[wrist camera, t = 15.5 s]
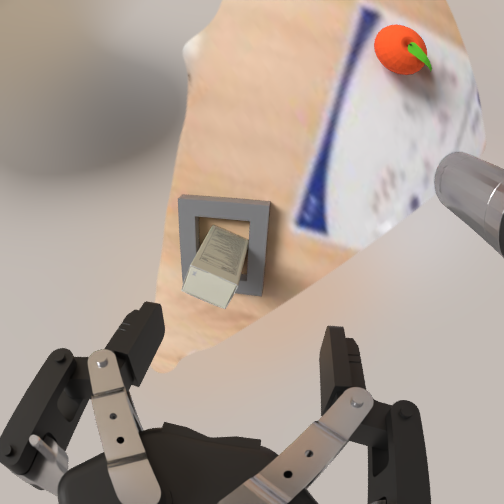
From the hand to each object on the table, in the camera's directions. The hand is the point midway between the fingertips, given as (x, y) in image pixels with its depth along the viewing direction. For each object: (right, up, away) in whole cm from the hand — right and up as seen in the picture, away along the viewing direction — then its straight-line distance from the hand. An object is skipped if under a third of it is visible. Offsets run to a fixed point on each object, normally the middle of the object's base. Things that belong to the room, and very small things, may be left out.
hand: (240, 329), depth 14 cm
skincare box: (-3, +5, +32) cm, 33 cm away
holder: (-4, +5, +32) cm, 33 cm away
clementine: (+20, +30, +16) cm, 39 cm away
